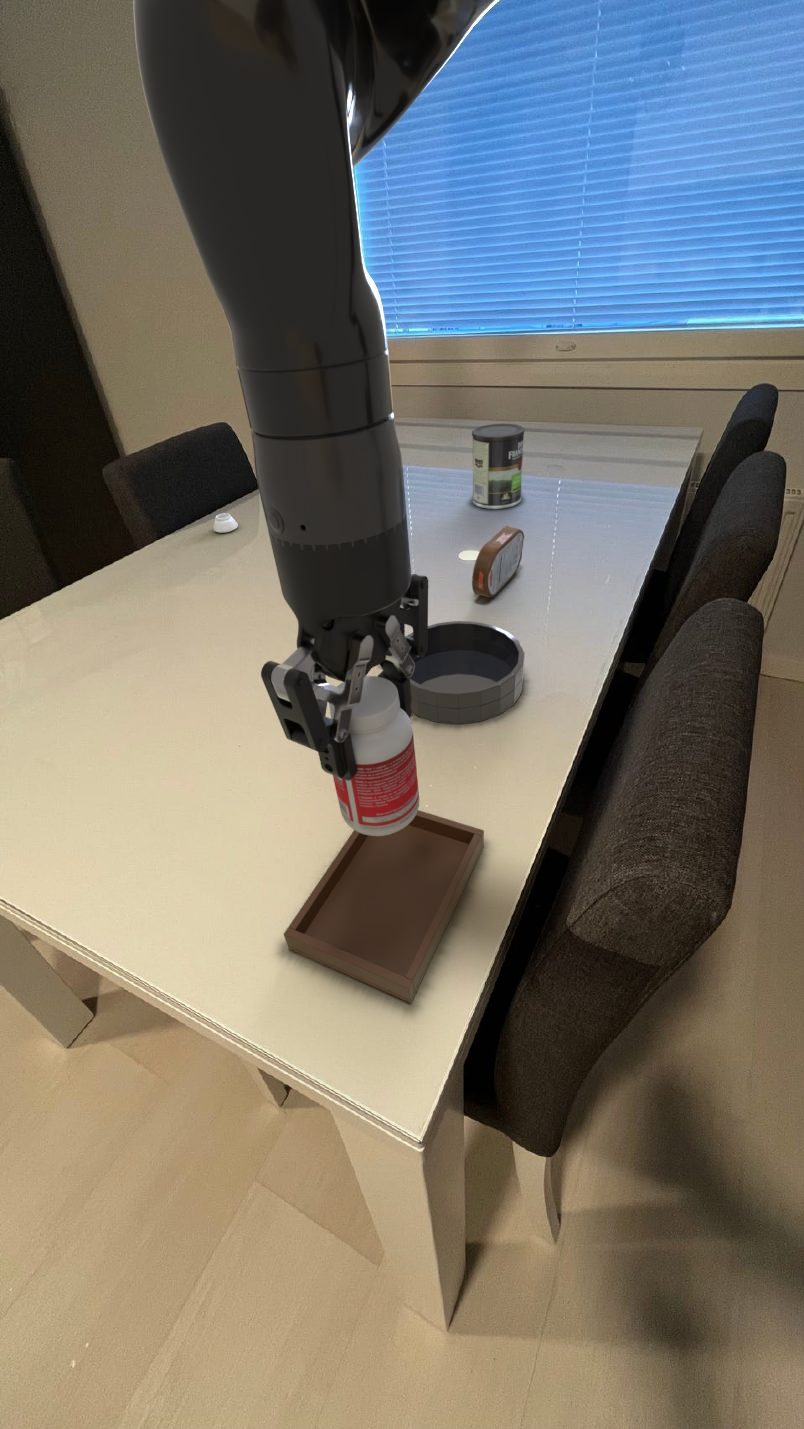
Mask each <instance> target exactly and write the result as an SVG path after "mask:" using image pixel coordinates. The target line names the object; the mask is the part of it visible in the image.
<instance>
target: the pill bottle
mask: <svg viewBox="0 0 804 1429" xmlns="http://www.w3.org/2000/svg"><path fill="white" fill-rule="evenodd" d="M344 686H345V682H341V683H339V684H338V685H336V687H338V688H341V689H344ZM328 707H329V716H330V718H331V719H333V717H334V710H335V708H334V705H333V704H331V703H328ZM348 734H351V739H352V745H353V750H354V756H355V762H356V767H357V774H356V775H355V776H354V777H353V778H352V779H351V780H349V781H348V780H345V779H341V778H338V777H336V776H334V775H332V778H333V783H334V788H335V792H336V796H337V797H336V798H337V801H338V806H339V810H340V814H341V816H342V819H343V821H344V822H345V823H346V825H347V826H348V827H349V828H351V829H352V830H353V831H354V830H355V831H357V832H359V833H362V834H365V835H370V836H385V835H389V834H392V833H395V832H397V831H399V830H401V829H403V828H404V827H406V826H407V825H408V824H409V823H410V822H411V821H412V820H413V819H414V817H415V816H416V814H417V812H418V810H419V807H420V790H419V781H418V771H417V770H418V768H417V761H416V759H417V758H416V750H415V740H414V731H413V724H412V721H411V718H409V716H408V715H407V714H406V712H405V711H404V710H403V709H401V708H400V701H399V696H398V690H397V688H396V686H395V685H394V684H393V683H392V682H391V681H389V680H387V679H385V678H381V677H378V676H376V675H366V676H365V678H364V683H363V689H362V695H361V701H360V703H359V704H358V705H357V706H354V707H353V708H352V714H351V720H350V727H349V733H348Z"/></svg>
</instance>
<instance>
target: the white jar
mask: <svg viewBox="0 0 804 1429" xmlns="http://www.w3.org/2000/svg"><path fill="white" fill-rule="evenodd" d="M214 517H215V518H214V522H213V526H212V529H213V531H214V532H216V533H218V534H219V533H221V534H223V533H230V532H232V531H234V530H236V529H237V528H238V526H239V524H238V522H237V521H236V520H235V519H234V517H232V516H231V514H230V513H229V512H222V513H219V514H216V516H214Z"/></svg>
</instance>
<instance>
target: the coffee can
mask: <svg viewBox="0 0 804 1429" xmlns="http://www.w3.org/2000/svg"><path fill="white" fill-rule="evenodd" d="M524 434H525V427H524V426H522V425H519V424H514V423H491V424H485V425H481V426H477V427H475V428H474V429H472V431H471V436H472V504H473V505H474V506H476V507H478V508H482V509H486V510H487V509H488V510H502V509H503V510H504V509H508V508H512V507H515V506H517V505H519V504H520V503H521V501H522V479H523V478H522V477H523V460H524V459H523V457H524V437H525V436H524Z"/></svg>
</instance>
